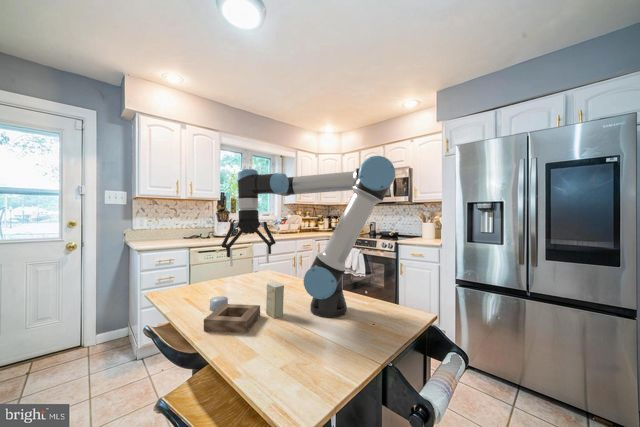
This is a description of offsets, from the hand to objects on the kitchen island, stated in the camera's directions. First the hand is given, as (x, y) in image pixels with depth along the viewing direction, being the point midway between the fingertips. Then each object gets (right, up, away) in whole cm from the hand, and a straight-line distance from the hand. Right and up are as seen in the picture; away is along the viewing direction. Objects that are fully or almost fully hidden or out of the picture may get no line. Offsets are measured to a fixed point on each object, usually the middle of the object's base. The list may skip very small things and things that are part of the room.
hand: (249, 264), depth 103 cm
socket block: (-4, -20, -6) cm, 22 cm away
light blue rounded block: (-15, -20, +8) cm, 27 cm away
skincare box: (+9, -21, +2) cm, 23 cm away
